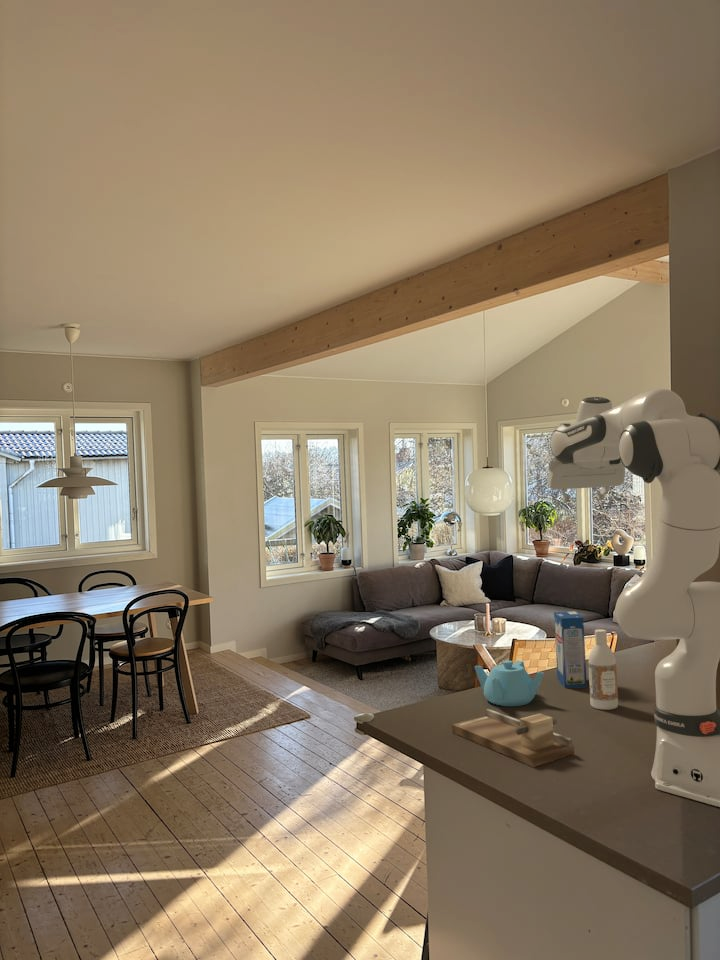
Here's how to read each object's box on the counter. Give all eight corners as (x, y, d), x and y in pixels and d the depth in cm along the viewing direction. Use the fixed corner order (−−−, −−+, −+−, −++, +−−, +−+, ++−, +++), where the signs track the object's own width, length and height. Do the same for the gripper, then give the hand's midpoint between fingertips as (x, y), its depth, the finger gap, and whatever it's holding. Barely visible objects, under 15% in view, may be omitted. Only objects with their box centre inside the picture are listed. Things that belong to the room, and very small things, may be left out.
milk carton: (557, 678, 228) (554, 612, 228) (578, 677, 228) (574, 611, 228) (565, 688, 218) (561, 618, 218) (586, 687, 218) (583, 617, 218)
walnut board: (574, 754, 167) (573, 738, 167) (533, 767, 161) (532, 750, 161) (490, 722, 192) (490, 708, 192) (452, 732, 185) (452, 718, 185)
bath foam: (597, 711, 196) (593, 634, 196) (586, 703, 203) (582, 628, 202) (623, 709, 197) (619, 631, 196) (610, 701, 203) (607, 626, 203)
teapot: (548, 705, 203) (546, 665, 203) (494, 711, 200) (492, 670, 200) (524, 690, 218) (522, 652, 218) (474, 695, 215) (473, 657, 215)
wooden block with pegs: (562, 742, 170) (560, 715, 170) (525, 753, 164) (523, 725, 164) (549, 737, 173) (547, 711, 173) (512, 748, 168) (511, 721, 168)
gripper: (553, 462, 197) (548, 508, 204) (630, 458, 198) (623, 503, 205) (546, 451, 203) (542, 496, 209) (621, 447, 204) (614, 492, 210)
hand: (582, 500), depth 207 cm, fingers open, 8 cm apart
